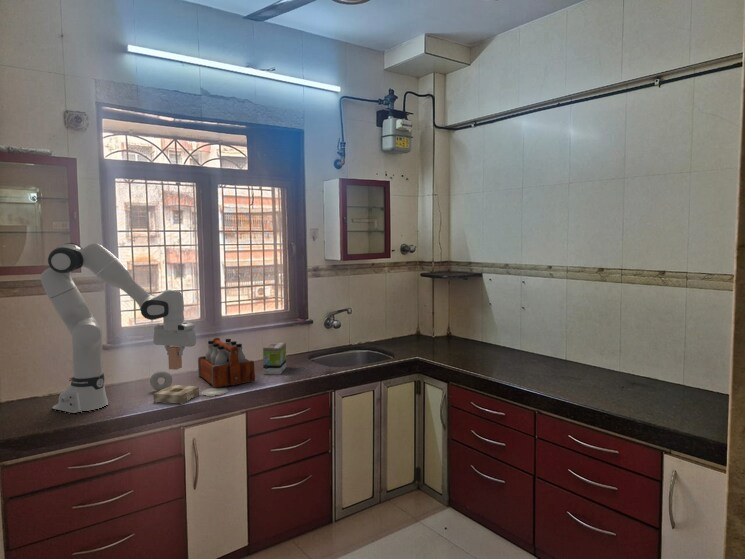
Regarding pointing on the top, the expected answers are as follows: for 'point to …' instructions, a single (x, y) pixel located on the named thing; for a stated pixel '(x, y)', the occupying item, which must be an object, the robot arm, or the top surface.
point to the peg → (174, 358)
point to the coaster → (214, 391)
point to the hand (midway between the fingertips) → (174, 355)
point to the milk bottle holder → (225, 364)
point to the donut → (156, 376)
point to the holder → (176, 394)
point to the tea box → (274, 358)
